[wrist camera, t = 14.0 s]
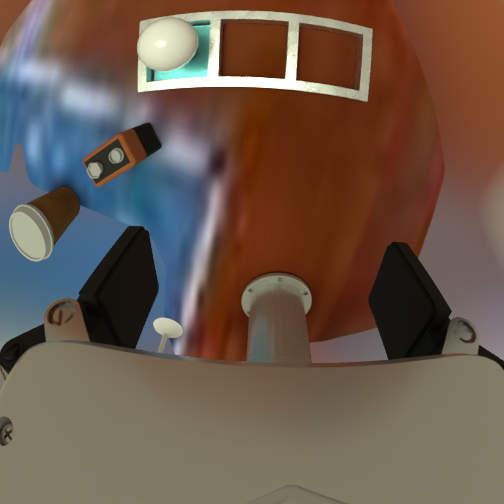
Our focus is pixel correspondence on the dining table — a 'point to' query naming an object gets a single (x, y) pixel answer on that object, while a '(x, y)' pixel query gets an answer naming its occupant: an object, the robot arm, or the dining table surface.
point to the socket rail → (209, 69)
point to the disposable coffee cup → (43, 222)
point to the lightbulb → (167, 44)
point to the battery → (121, 153)
